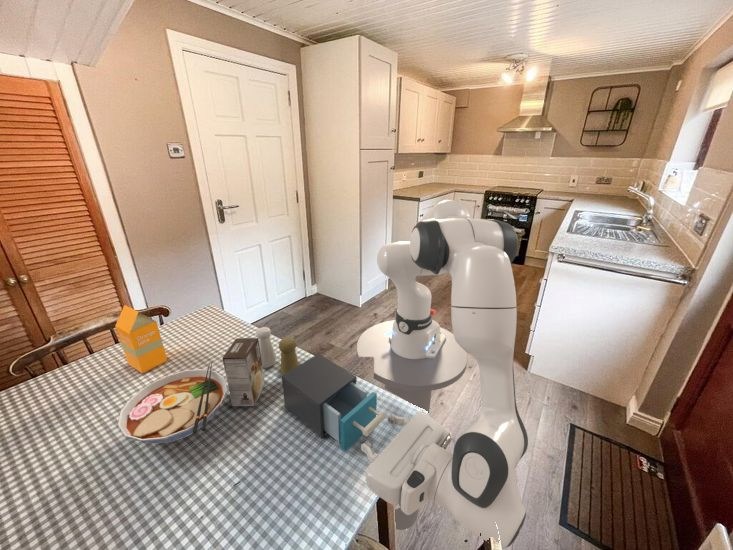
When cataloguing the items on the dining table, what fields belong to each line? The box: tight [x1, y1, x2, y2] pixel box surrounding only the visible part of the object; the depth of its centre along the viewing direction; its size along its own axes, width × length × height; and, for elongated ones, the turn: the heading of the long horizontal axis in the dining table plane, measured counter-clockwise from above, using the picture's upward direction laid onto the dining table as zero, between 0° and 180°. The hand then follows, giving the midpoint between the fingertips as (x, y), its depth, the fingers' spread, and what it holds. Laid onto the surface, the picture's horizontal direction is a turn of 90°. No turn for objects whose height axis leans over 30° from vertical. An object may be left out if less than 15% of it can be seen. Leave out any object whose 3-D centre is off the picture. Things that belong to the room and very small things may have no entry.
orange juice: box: [114, 304, 168, 374], centre depth 95 cm, size 8×9×20 cm
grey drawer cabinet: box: [281, 353, 357, 439], centre depth 79 cm, size 15×13×11 cm
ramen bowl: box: [117, 361, 228, 445], centre depth 75 cm, size 25×23×8 cm
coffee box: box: [222, 337, 266, 407], centre depth 83 cm, size 9×6×16 cm
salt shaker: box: [255, 326, 277, 369], centre depth 96 cm, size 6×6×13 cm
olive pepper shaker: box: [278, 337, 300, 376], centre depth 94 cm, size 6×6×11 cm
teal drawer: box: [322, 382, 386, 453], centre depth 73 cm, size 18×11×9 cm, turn 50°
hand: (377, 430), depth 68 cm, fingers open, 8 cm apart
